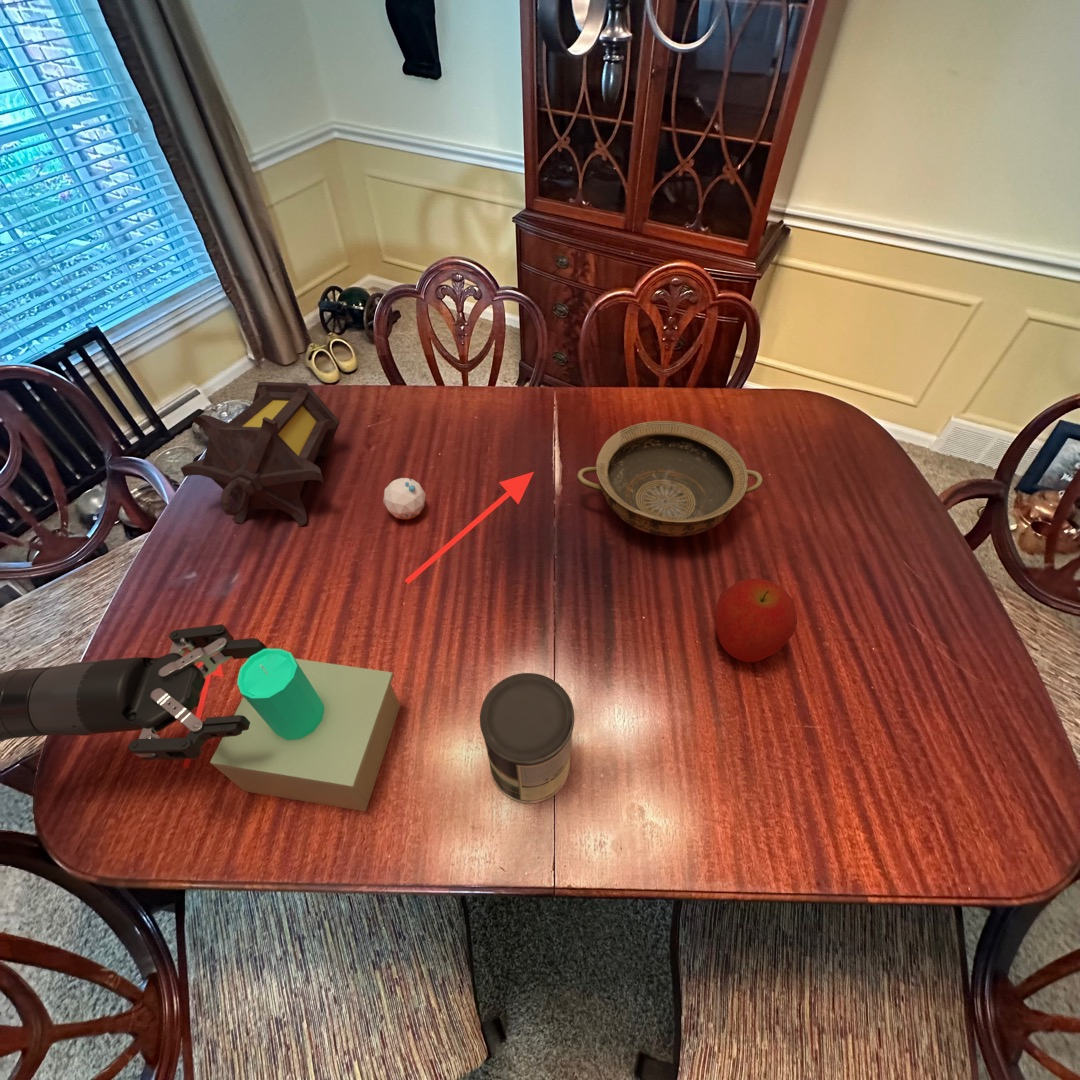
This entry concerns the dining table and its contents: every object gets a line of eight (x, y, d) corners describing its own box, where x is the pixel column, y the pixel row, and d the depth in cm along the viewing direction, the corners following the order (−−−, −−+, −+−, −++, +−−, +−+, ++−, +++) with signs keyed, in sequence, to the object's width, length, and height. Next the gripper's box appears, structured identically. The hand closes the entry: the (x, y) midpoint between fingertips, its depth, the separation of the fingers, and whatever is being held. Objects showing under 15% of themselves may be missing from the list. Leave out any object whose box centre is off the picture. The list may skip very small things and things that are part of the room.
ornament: (384, 527, 102) (373, 494, 96) (394, 497, 107) (384, 463, 101) (423, 529, 102) (415, 496, 96) (431, 499, 106) (424, 465, 100)
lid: (393, 675, 74) (392, 672, 74) (354, 788, 66) (352, 786, 65) (267, 657, 76) (264, 653, 76) (212, 765, 67) (209, 762, 67)
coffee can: (479, 794, 74) (467, 751, 63) (501, 716, 80) (493, 664, 69) (562, 813, 72) (564, 772, 61) (577, 732, 78) (582, 681, 68)
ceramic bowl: (740, 465, 111) (754, 422, 103) (762, 567, 95) (781, 526, 88) (577, 459, 112) (579, 416, 105) (573, 559, 97) (575, 517, 89)
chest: (400, 705, 81) (386, 674, 74) (365, 811, 72) (346, 787, 66) (290, 689, 83) (267, 657, 76) (243, 791, 74) (212, 765, 67)
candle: (311, 744, 68) (275, 697, 59) (262, 735, 69) (218, 687, 60) (332, 695, 72) (301, 644, 63) (285, 687, 72) (247, 635, 63)
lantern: (367, 466, 119) (313, 570, 96) (252, 453, 119) (171, 554, 96) (355, 363, 105) (288, 457, 82) (224, 349, 105) (121, 438, 82)
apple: (785, 631, 88) (817, 574, 77) (769, 688, 82) (802, 635, 71) (715, 606, 91) (737, 547, 80) (696, 659, 85) (717, 603, 75)
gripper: (46, 749, 56) (224, 734, 56) (105, 619, 65) (258, 608, 66) (93, 777, 61) (254, 763, 62) (141, 654, 71) (281, 643, 71)
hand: (256, 683), depth 64 cm, fingers open, 8 cm apart
